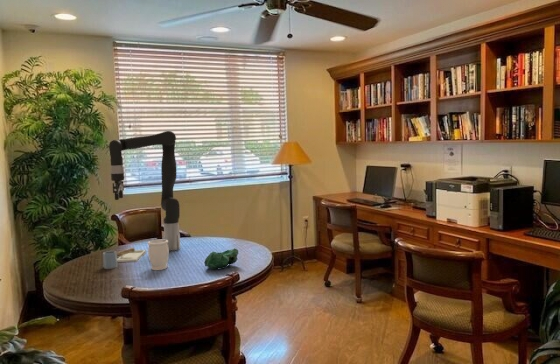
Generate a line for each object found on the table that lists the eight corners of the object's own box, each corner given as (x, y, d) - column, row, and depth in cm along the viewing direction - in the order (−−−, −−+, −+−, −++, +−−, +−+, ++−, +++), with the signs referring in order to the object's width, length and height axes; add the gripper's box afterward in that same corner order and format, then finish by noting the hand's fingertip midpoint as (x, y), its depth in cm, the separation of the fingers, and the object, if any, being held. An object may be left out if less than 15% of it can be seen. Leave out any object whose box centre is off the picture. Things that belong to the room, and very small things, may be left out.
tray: (145, 253, 266) (145, 249, 266) (136, 262, 245) (136, 259, 244) (126, 253, 265) (126, 250, 265) (116, 263, 244) (115, 260, 244)
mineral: (226, 261, 243) (226, 244, 242) (244, 266, 232) (244, 248, 231) (199, 268, 231) (198, 250, 230) (216, 274, 219) (216, 255, 218)
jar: (151, 272, 226) (149, 244, 224) (147, 267, 235) (146, 240, 233) (171, 269, 231) (170, 241, 229) (167, 264, 240) (165, 238, 238)
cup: (118, 266, 238) (117, 250, 237) (115, 269, 232) (114, 253, 231) (106, 266, 238) (105, 251, 237) (102, 270, 231) (101, 254, 230)
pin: (134, 247, 256) (107, 248, 255) (133, 247, 253) (105, 249, 252) (135, 256, 256) (107, 258, 255) (134, 257, 254) (106, 259, 253)
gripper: (120, 173, 256) (121, 200, 257) (126, 171, 270) (128, 197, 271) (107, 173, 255) (109, 200, 257) (114, 172, 269) (116, 197, 271)
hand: (119, 198), depth 264 cm, fingers open, 8 cm apart
